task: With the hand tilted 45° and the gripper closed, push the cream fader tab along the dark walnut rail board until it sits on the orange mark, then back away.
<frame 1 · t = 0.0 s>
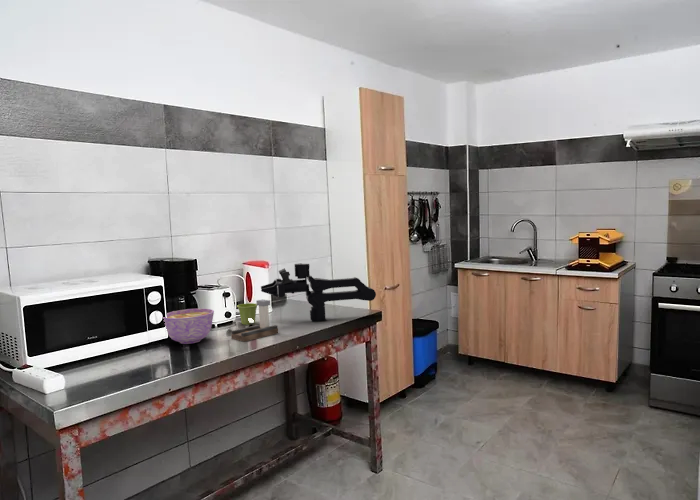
hand: (261, 288, 229), 17 cm above the table, tool horizontal, fingers open, 9 cm apart
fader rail: (255, 335, 210), on the table
plant pot: (248, 323, 235), on the table
fader tab: (263, 314, 213), point 8 cm above the table, slide at 0.0 cm
bowl of food: (190, 341, 205), on the table
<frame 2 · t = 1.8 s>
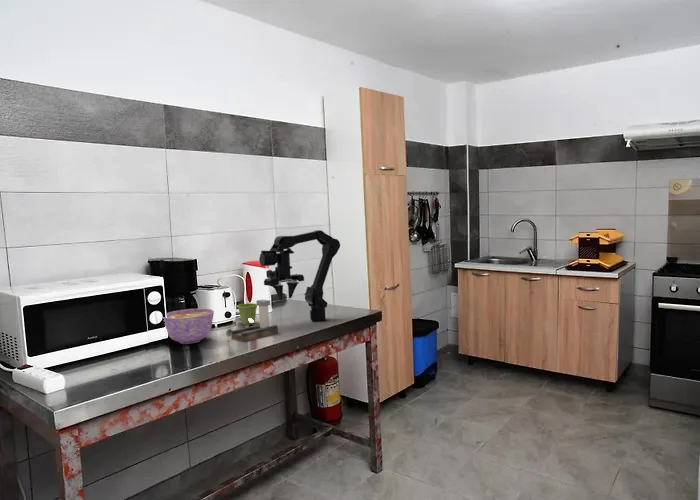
hand: (285, 299, 225), 12 cm above the table, tool pointing down, fingers open, 5 cm apart
nothing on the table moved.
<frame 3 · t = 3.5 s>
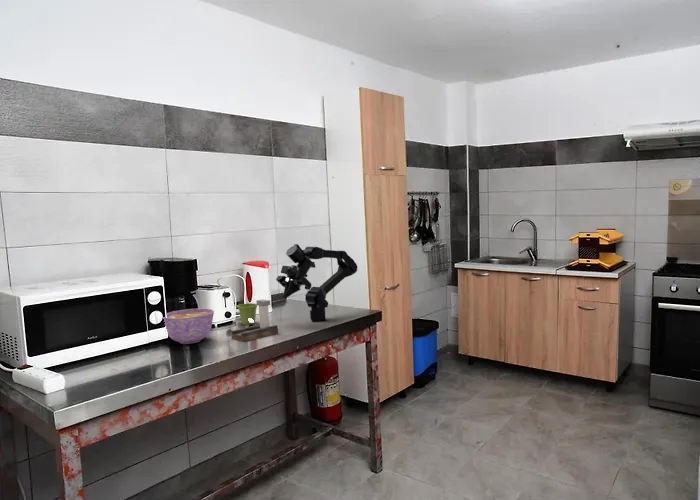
hand: (283, 298, 220), 13 cm above the table, tool tilted 45°, fingers closed
nothing on the table moved.
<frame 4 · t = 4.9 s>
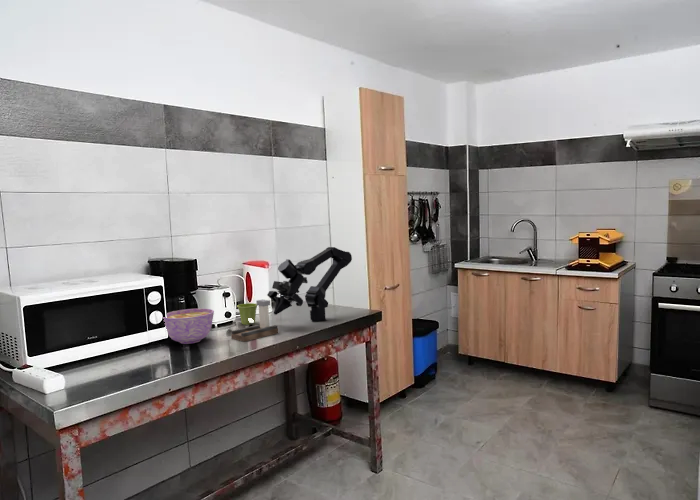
hand: (274, 314, 217), 7 cm above the table, tool tilted 45°, fingers closed
nothing on the table moved.
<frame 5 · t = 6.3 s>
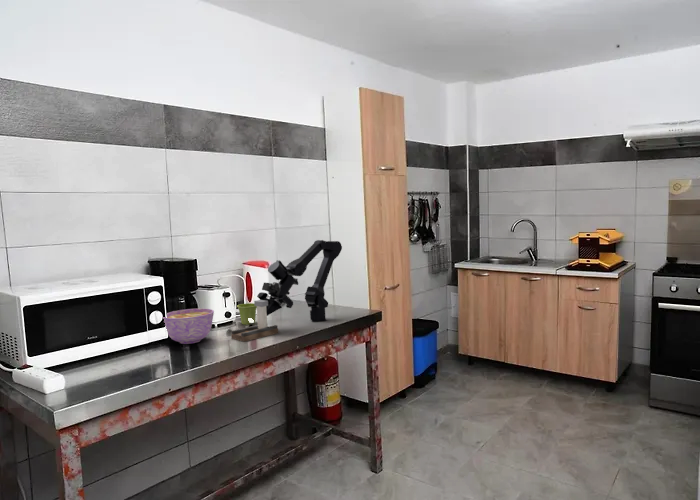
hand: (264, 316, 213), 7 cm above the table, tool tilted 45°, fingers closed, pressing on fader tab
fader tab: (261, 314, 212), point 8 cm above the table, slide at 1.1 cm, touching gripper
everything else where it was.
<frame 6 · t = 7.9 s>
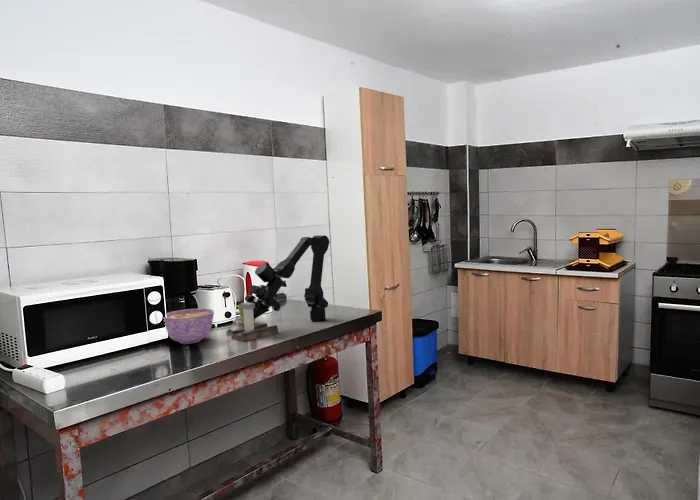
hand: (251, 319, 208), 7 cm above the table, tool tilted 45°, fingers closed
fader tab: (248, 317, 207), point 8 cm above the table, slide at 7.7 cm
everything else where it was.
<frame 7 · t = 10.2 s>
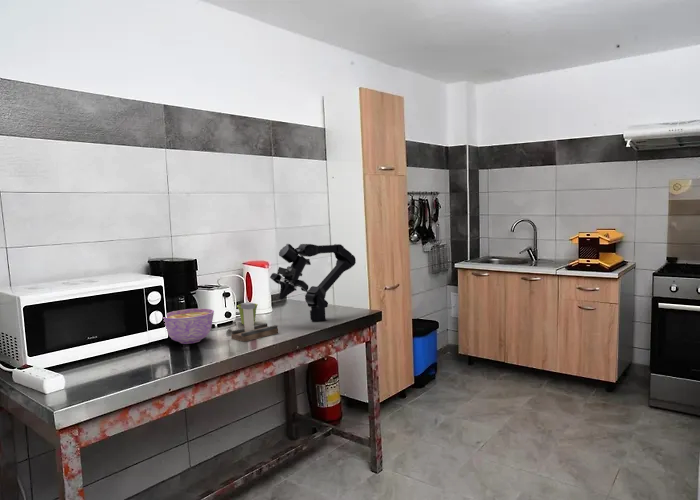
hand: (280, 299, 221), 13 cm above the table, tool tilted 35°, fingers closed
nothing on the table moved.
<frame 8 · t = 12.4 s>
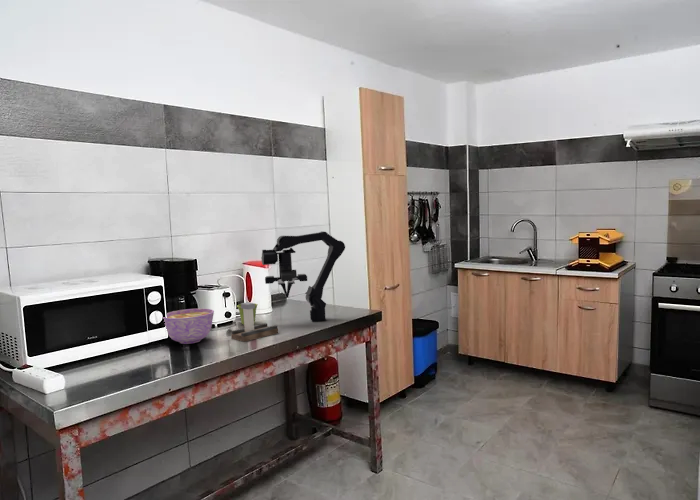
hand: (287, 297, 230), 12 cm above the table, tool pointing down, fingers closed
nothing on the table moved.
at the end: fader tab slide at 7.7 cm; plant pot moved 0.3 cm from its start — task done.
